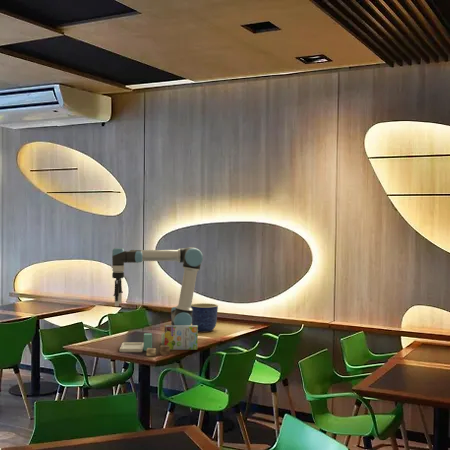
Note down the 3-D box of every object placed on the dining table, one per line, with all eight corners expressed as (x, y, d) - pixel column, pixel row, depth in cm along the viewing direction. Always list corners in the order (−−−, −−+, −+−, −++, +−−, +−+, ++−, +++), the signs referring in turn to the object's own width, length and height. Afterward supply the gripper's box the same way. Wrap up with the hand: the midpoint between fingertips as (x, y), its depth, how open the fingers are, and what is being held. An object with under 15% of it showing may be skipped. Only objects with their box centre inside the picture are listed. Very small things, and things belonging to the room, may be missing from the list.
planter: (221, 332, 454) (222, 306, 454) (195, 333, 446) (195, 307, 446) (211, 327, 473) (212, 302, 473) (186, 328, 466) (186, 303, 465)
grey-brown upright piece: (170, 343, 410) (170, 333, 410) (170, 345, 404) (170, 334, 404) (161, 343, 410) (161, 333, 410) (161, 345, 404) (161, 334, 404)
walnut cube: (167, 353, 381) (167, 345, 381) (169, 354, 377) (169, 346, 377) (159, 353, 380) (159, 345, 380) (161, 355, 375) (161, 347, 375)
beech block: (156, 354, 376) (156, 348, 376) (154, 356, 372) (154, 349, 372) (148, 354, 377) (148, 347, 377) (146, 355, 373) (146, 349, 373)
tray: (144, 345, 402) (144, 342, 402) (142, 352, 382) (142, 348, 382) (122, 345, 401) (122, 342, 401) (119, 352, 381) (119, 348, 381)
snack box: (197, 348, 397) (197, 324, 397) (197, 350, 391) (197, 326, 391) (164, 347, 396) (165, 324, 396) (164, 349, 391) (164, 326, 390)
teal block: (151, 349, 392) (152, 333, 392) (151, 350, 387) (151, 334, 387) (144, 349, 392) (144, 333, 392) (143, 350, 387) (143, 334, 387)
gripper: (114, 270, 411) (114, 301, 412) (109, 273, 387) (109, 307, 387) (126, 270, 412) (126, 301, 412) (121, 273, 387) (121, 307, 387)
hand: (118, 304), depth 399 cm, fingers open, 13 cm apart
